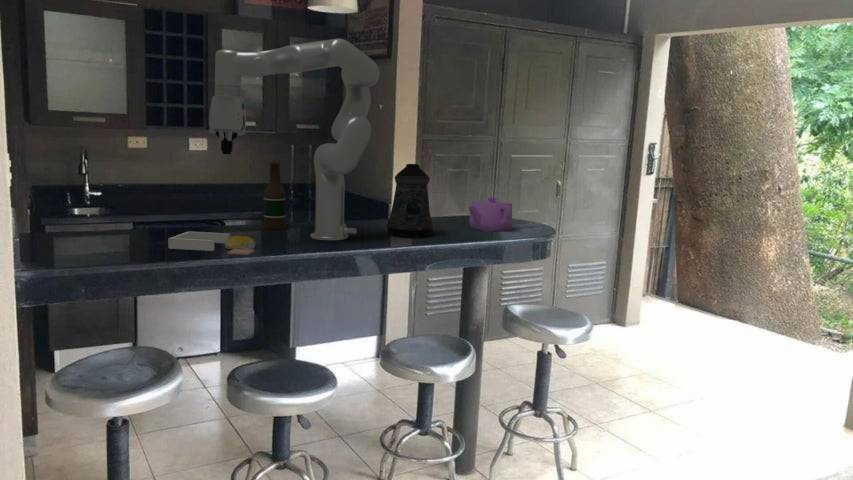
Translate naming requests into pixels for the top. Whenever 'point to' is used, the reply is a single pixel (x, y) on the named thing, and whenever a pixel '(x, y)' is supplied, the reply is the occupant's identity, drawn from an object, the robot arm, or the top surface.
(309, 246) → the top surface
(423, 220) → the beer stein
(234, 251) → the tile
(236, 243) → the bread roll
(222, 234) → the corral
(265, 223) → the beer bottle
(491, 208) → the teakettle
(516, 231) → the top surface
